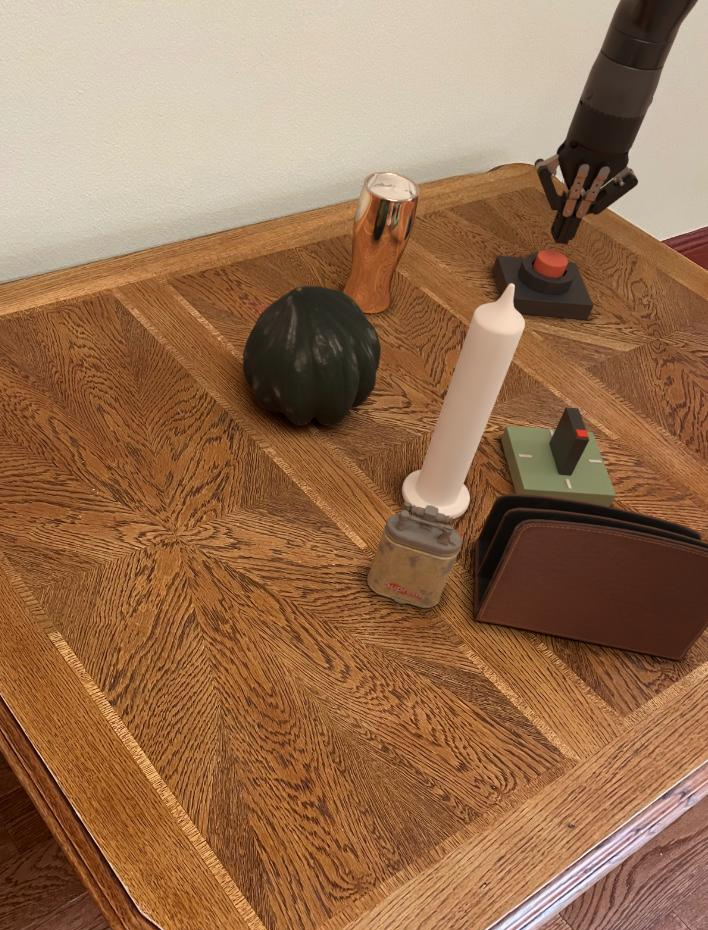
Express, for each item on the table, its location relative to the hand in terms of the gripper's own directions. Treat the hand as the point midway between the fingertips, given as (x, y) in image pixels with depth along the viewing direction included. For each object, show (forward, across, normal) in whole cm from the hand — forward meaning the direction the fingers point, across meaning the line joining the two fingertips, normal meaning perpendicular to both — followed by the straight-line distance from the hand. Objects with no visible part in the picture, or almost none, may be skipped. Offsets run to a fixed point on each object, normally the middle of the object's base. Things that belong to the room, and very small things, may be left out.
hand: (559, 240), depth 119 cm
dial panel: (+8, +6, +35) cm, 36 cm away
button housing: (+8, 0, 0) cm, 8 cm away
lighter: (+8, +25, +53) cm, 59 cm away
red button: (+4, 0, 0) cm, 4 cm away
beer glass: (+8, +24, +5) cm, 26 cm away
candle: (+8, +20, +40) cm, 46 cm away
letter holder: (+8, +8, +54) cm, 55 cm away
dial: (+6, +6, +35) cm, 36 cm away
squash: (+8, +33, +26) cm, 43 cm away
